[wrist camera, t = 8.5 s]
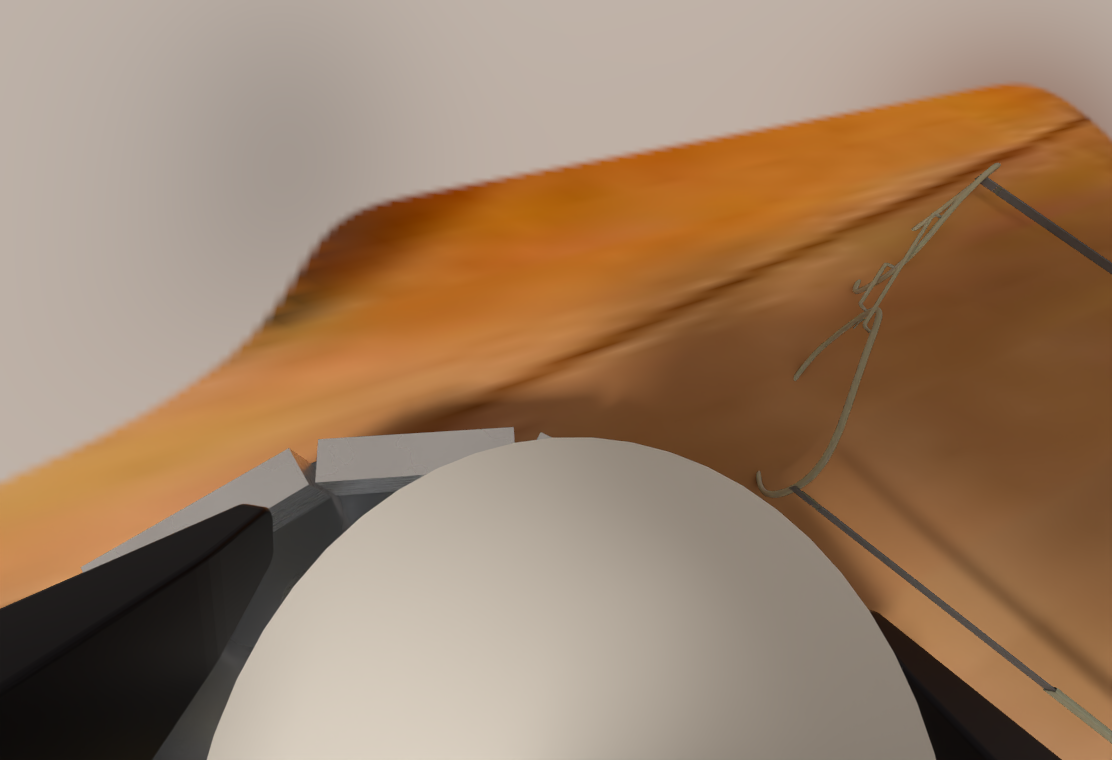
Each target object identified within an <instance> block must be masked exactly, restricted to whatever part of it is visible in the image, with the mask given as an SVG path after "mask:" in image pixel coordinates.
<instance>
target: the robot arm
mask: <svg viewBox="0 0 1112 760" xmlns="http://www.w3.org/2000/svg"><path fill="white" fill-rule="evenodd" d="M273 552H274V543H273V519H272V513H271V510H270V509H268V508H267V507H262V506H257V505H251V504H240V505H237V506H235V507H232V508H230V509H228V510H226V511H223V512H221V513H219V514H216V515H214V516H212V517H210V518H207V519H205V520H203V521H200V522H198V523H196V524H193V525H191V526H189V527H187V528H184V529H182V530H180V531H177V532H175V533H173V534H171V535H168V536H166V537H164V538H161V539H159V540H157V541H154V542H152V543H150V544H148V545H145V546H143V547H141V548H138V549H136V550H134V551H132V552H129V553H127V554H125V555H122V556H120V557H118V558H116V559H113V560H111V561H109V562H106V563H104V564H102V565H99V566H97V567H95V568H93V569H90V570H88V571H86V572H83V573H81V574H79V575H77V576H74V577H72V578H70V579H67V580H65V581H63V582H60V583H58V584H56V585H54V586H51V587H49V588H47V589H44V590H42V591H40V592H37V593H35V594H33V595H31V596H28V597H26V598H24V599H21V600H19V601H17V602H15V603H12V604H10V605H8V606H5V607H3V608H1V609H0V760H153V758H154V757H155V755H156V754H157V752H158V751H159V749H160V748H161V746H162V745H163V743H164V742H165V740H166V739H167V737H168V736H169V734H170V733H171V731H172V730H173V728H174V727H175V725H176V724H177V722H178V721H179V719H180V718H181V716H182V715H183V713H184V712H185V710H186V709H187V707H188V706H189V704H190V703H191V701H192V700H193V698H194V697H195V695H196V694H197V692H198V691H199V689H200V688H201V686H202V685H203V684H204V682H205V681H206V679H207V678H208V676H209V674H210V673H211V671H212V670H213V668H214V667H215V665H216V664H217V662H218V660H219V659H220V657H221V655H222V653H223V652H224V650H225V648H226V646H227V645H228V643H229V641H230V639H231V637H232V635H233V633H234V632H235V630H236V628H237V626H238V624H239V622H240V620H241V618H242V617H243V615H244V613H245V611H246V609H247V607H248V605H249V603H250V602H251V600H252V598H253V596H254V594H255V592H256V590H257V589H258V587H259V585H260V583H261V581H262V579H263V577H264V575H265V574H266V572H267V570H268V568H269V566H270V564H271V561H272V557H273ZM869 611H870V613H871V615H872V616H873V618H874V620H875V621H876V623H877V625H878V626H879V628H880V630H881V632H882V633H883V635H884V637H885V638H886V640H887V642H888V643H889V645H890V647H891V649H892V650H893V652H894V654H895V656H896V658H897V660H898V662H899V664H900V667H901V669H902V671H903V673H904V675H905V677H906V680H907V682H908V684H909V686H910V688H911V691H912V693H913V695H914V697H915V699H916V701H917V704H918V707H919V710H920V713H921V716H922V719H923V722H924V724H925V727H926V730H927V733H928V736H929V739H930V742H931V745H932V748H933V751H934V753H935V758H936V760H1061V759H1060V758H1059V757H1058V756H1056V755H1055V754H1054V753H1053V752H1051V751H1050V750H1049V749H1048V748H1046V747H1045V746H1044V745H1043V744H1041V743H1040V742H1039V741H1038V740H1036V739H1035V738H1034V737H1033V736H1031V735H1030V734H1029V733H1028V732H1026V731H1025V730H1024V729H1023V728H1022V727H1020V726H1019V725H1018V724H1017V723H1015V722H1014V721H1013V720H1012V719H1010V718H1009V717H1008V716H1007V715H1005V714H1004V713H1003V712H1002V711H1000V710H999V709H998V708H997V707H995V706H994V705H993V704H992V703H990V702H989V701H988V700H987V699H985V698H984V697H983V696H982V695H980V694H979V693H978V692H977V691H975V690H974V689H973V688H972V687H970V686H969V685H968V684H967V683H965V682H964V681H963V680H962V679H960V678H959V677H958V676H957V675H955V674H954V673H953V672H952V671H950V670H949V669H948V668H947V667H945V666H944V665H943V664H942V663H940V662H939V661H938V660H937V659H935V658H934V657H933V656H932V655H930V654H929V653H928V652H927V651H925V650H924V649H923V648H922V647H920V646H919V645H918V644H917V643H915V642H914V641H913V640H912V639H910V638H909V637H908V636H907V635H905V634H904V633H903V632H902V631H900V630H899V629H898V628H897V627H895V626H894V625H893V624H892V623H890V622H889V621H888V620H887V619H886V618H884V617H883V616H882V615H880V614H879V613H877V612H875V611H872V610H869Z"/></svg>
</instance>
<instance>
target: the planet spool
mask: <svg viewBox="0 0 1112 760" xmlns="http://www.w3.org/2000/svg"><path fill="white" fill-rule="evenodd" d="M207 760H936V758H935V753H934V751H933V748H932V745H931V742H930V739H929V736H928V733H927V730H926V727H925V724H924V722H923V719H922V716H921V713H920V710H919V707H918V704H917V701H916V699H915V697H914V695H913V693H912V691H911V688H910V686H909V684H908V682H907V680H906V677H905V675H904V673H903V671H902V669H901V667H900V664H899V662H898V660H897V658H896V656H895V654H894V652H893V650H892V649H891V647H890V645H889V643H888V642H887V640H886V638H885V637H884V635H883V633H882V632H881V630H880V628H879V626H878V625H877V623H876V621H875V620H874V618H873V616H872V615H871V613H870V611H869V610H868V608H867V607H866V606H865V604H864V603H863V602H862V600H861V599H860V597H859V596H858V595H857V593H856V592H855V591H854V589H853V588H852V587H851V585H850V584H849V583H848V581H847V580H846V578H845V577H844V576H843V574H842V573H841V572H840V571H839V570H838V569H837V567H836V566H835V565H834V564H833V563H832V562H831V561H830V560H829V559H828V558H827V557H826V555H825V554H824V553H823V552H822V551H821V550H820V549H819V548H818V547H817V546H816V544H815V543H814V542H813V541H812V540H811V539H810V538H809V537H808V536H807V535H805V534H804V533H803V532H802V531H801V530H800V529H799V528H797V527H796V526H795V525H794V524H793V523H792V522H791V521H790V520H788V519H787V518H786V517H785V516H784V515H783V514H782V513H780V512H779V511H778V510H777V509H775V508H774V507H773V506H771V505H770V504H768V503H767V502H765V501H764V500H763V499H761V498H760V497H758V496H757V495H755V494H754V493H753V492H751V491H750V490H748V489H747V488H745V487H744V486H742V485H740V484H739V483H737V482H735V481H733V480H731V479H729V478H727V477H726V476H724V475H722V474H720V473H718V472H716V471H714V470H713V469H711V468H709V467H707V466H704V465H702V464H699V463H697V462H694V461H692V460H689V459H686V458H684V457H681V456H679V455H676V454H674V453H671V452H668V451H664V450H660V449H656V448H652V447H648V446H644V445H640V444H636V443H633V442H625V441H617V440H609V439H601V438H593V437H587V438H547V439H540V440H532V441H524V442H517V443H512V444H508V445H504V446H500V447H497V448H493V449H489V450H485V451H481V452H478V453H474V454H472V455H469V456H467V457H464V458H462V459H460V460H457V461H455V462H452V463H450V464H447V465H445V466H442V467H440V468H437V469H435V470H433V471H432V472H430V473H428V474H426V475H424V476H423V477H421V478H419V479H417V480H415V481H414V482H412V483H410V484H408V485H406V486H404V487H403V488H401V489H399V490H398V491H396V492H395V493H393V494H392V495H391V496H389V497H388V498H387V499H385V500H384V501H382V502H381V503H380V504H378V505H377V506H375V507H374V508H373V509H371V510H370V511H368V512H367V513H366V514H364V515H363V516H362V517H361V518H359V519H358V520H357V521H356V522H355V523H354V524H353V525H352V526H351V527H350V528H349V529H347V530H346V531H345V532H344V533H343V534H342V535H341V536H340V537H339V538H338V539H337V540H335V541H334V542H333V543H332V544H331V545H330V546H329V547H328V548H327V549H326V550H325V551H324V552H323V553H322V554H321V556H320V557H319V558H318V559H317V560H316V561H315V563H314V564H313V565H312V566H311V567H310V568H309V569H308V571H307V572H306V573H305V574H304V575H303V576H302V577H301V579H300V580H299V581H298V582H297V583H296V584H295V586H294V587H293V588H292V590H291V591H290V593H289V594H288V595H287V597H286V598H285V600H284V601H283V603H282V604H281V606H280V607H279V608H278V610H277V611H276V613H275V614H274V616H273V617H272V619H271V620H270V621H269V623H268V624H267V626H266V627H265V629H264V630H263V632H262V634H261V636H260V638H259V639H258V641H257V643H256V645H255V647H254V649H253V650H252V652H251V654H250V656H249V658H248V660H247V661H246V663H245V665H244V667H243V669H242V671H241V673H240V674H239V676H238V678H237V680H236V682H235V685H234V687H233V690H232V692H231V695H230V697H229V700H228V702H227V704H226V707H225V709H224V712H223V714H222V717H221V719H220V721H219V724H218V726H217V729H216V731H215V734H214V737H213V740H212V743H211V747H210V750H209V754H208V757H207Z"/></svg>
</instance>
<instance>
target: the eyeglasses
mask: <svg viewBox="0 0 1112 760" xmlns="http://www.w3.org/2000/svg"><path fill="white" fill-rule="evenodd" d="M1000 166H1001V164H1000V163H995V164H994V165H992V166H991V167H989V168H988V169H987V170H986V171H985V172H984V173H982V174H981V175H980V176H978V177H977V178H975V181H974V182H973V183H971V184H970V185H969V186H968V187H966V188H965V189H964V190H962V191H961V192H960V193H958V194H957V195H956V196H955V197H953V198H952V199H951V200H949V201H948V202H947V203H945V204H944V205H943V206H942V207H940V208H939V209H938V210H936V211H935V212H934V213H932V214H931V215H930V216H928V217H927V218H926V219H924V220H923V221H922V222H920V223H919V224H917V225H916V226H915V227H913V228H912V231H916V230H918V229H919V228H920V227H922V226H923V225H924V226H923V228H922V229H921V231H920V233H919V234H918V236H917V237H916V239H915V241H914V242H913V244H912V245H911V247H910V249H909V250H908V252H907V253H906V255H905V257H904V258H903V259H902V260H901V261H900V262H899V263H898V264H897V265H895V266H893V265H892V264H889V263H884V264H883V265H882V267H881V268H880V270H879V271H878V273H877V275H876V276H875V278H874V279H873V281H872V282H871V283H869V284H867V285H865V286H863V287H861V288H859V289H858V287H859V285H860V283H861V280H860V279H859V280H857V281H856V282H855V284H854V286H853V292H854V293H855V294H859V293H862V292H864V291H866V292H865V293H864V295H863V296H862V298H861V300H860V301H859V306H860V308H861V309H862V310H863V311H864V312H863V313H861V314H859V315H858V316H857V317H855V318H854V319H852V320H851V321H850V322H848V323H847V324H846V325H844V326H843V327H842V328H841V329H839V330H838V331H837V332H836V333H834V334H833V335H832V336H831V337H830V338H828V339H827V340H826V341H825V342H823V343H822V344H821V345H820V346H819V347H818V348H817V349H816V350H815V351H814V352H813V353H812V354H811V355H810V356H809V357H808V359H807V360H806V361H805V362H804V363H803V364H802V366H801V367H800V368H799V370H798V371H797V372H796V374H795V376H794V381H796V380H797V379H798V378H799V377H800V375H801V374H802V373H803V372H804V370H805V369H806V368H807V366H808V365H809V364H810V363H811V362H812V361H813V360H814V359H815V357H816V356H817V355H818V354H819V353H820V352H821V351H822V350H823V349H824V348H826V347H827V346H828V345H829V344H830V343H831V342H833V341H834V340H835V339H836V338H838V337H839V336H840V335H842V334H843V333H844V332H845V331H847V330H848V329H849V328H851V327H852V326H853V325H855V324H856V323H857V324H856V325H855V326H854V328H853V329H855V328H856V326H857V325H858V324H859V323H860V322H862V321H864V320H865V321H864V322H863V327H864V329H865V330H866V331H867V332H868V333H870V335H869V337H868V340H867V343H866V345H865V348H864V350H863V353H862V356H861V359H860V362H859V365H858V367H857V370H856V373H855V376H854V379H853V382H852V385H851V388H850V391H849V394H848V396H847V399H846V402H845V405H844V408H843V411H842V414H841V417H840V420H839V422H838V425H837V427H836V430H835V432H834V434H833V437H832V439H831V441H830V443H829V445H828V447H827V449H826V451H825V453H824V454H823V456H822V457H821V459H820V460H819V462H818V463H817V464H816V466H815V467H814V468H813V469H812V470H811V471H810V472H809V473H808V474H807V475H806V476H805V477H804V478H803V479H801V480H800V481H798V482H797V483H795V484H793V485H791V486H789V487H787V488H785V489H781V490H778V491H768V490H766V489H765V488H764V486H763V484H762V479H761V472H760V471H758V472H757V474H756V480H757V485H758V487H759V489H760V491H761V492H762V493H763V494H764V495H765V496H767V497H771V498H778V497H783V496H786V495H789V494H791V493H793V492H794V493H796V494H797V495H798V496H799V497H801V498H802V499H803V500H804V501H806V502H807V503H808V504H810V505H812V507H814V508H815V509H816V510H817V511H818V512H820V513H821V514H822V515H824V516H825V517H826V518H827V519H829V520H830V521H831V522H832V523H834V524H835V525H836V526H838V527H839V528H840V529H841V530H843V531H844V532H845V533H846V534H848V535H849V536H850V537H852V538H853V539H854V540H855V541H857V542H858V543H859V544H860V545H862V546H863V547H864V548H866V549H867V550H868V551H869V552H871V553H872V554H873V555H874V556H876V557H877V558H878V559H880V560H881V561H882V562H883V563H885V564H886V565H887V566H888V567H890V568H891V569H892V570H894V571H895V572H896V573H897V574H899V575H900V576H901V577H903V578H904V579H905V580H906V581H908V582H909V583H910V584H911V585H913V586H914V587H915V588H917V589H918V590H919V591H920V592H922V593H923V594H924V595H925V596H927V597H928V598H929V599H931V600H932V601H933V602H934V603H936V604H937V605H938V606H939V607H941V608H942V609H943V610H945V611H946V612H947V613H948V614H950V615H951V616H952V617H953V618H955V619H956V620H957V621H959V622H960V623H961V624H962V625H964V626H965V627H966V628H967V629H969V630H970V631H971V632H973V633H974V634H975V635H976V636H978V637H979V638H980V639H981V640H983V641H984V642H985V643H987V644H988V645H989V646H990V647H992V648H993V649H994V650H995V651H997V652H998V653H999V654H1001V655H1002V656H1003V657H1004V658H1006V659H1007V660H1008V661H1009V662H1011V663H1012V664H1013V665H1015V666H1016V667H1017V668H1018V669H1020V670H1021V671H1022V672H1023V673H1025V674H1026V675H1027V676H1029V677H1030V678H1031V679H1032V680H1034V681H1035V682H1036V683H1037V684H1039V685H1040V686H1041V687H1043V688H1044V689H1043V690H1044V691H1045V692H1047V693H1048V694H1049V695H1051V696H1052V697H1053V698H1054V699H1056V700H1057V701H1058V702H1059V703H1061V704H1062V705H1063V706H1065V707H1066V708H1067V709H1068V710H1070V711H1071V712H1072V713H1074V714H1075V715H1076V716H1077V717H1079V718H1080V719H1081V720H1082V721H1084V722H1085V723H1086V724H1088V725H1089V726H1090V727H1091V728H1093V729H1094V730H1095V731H1096V732H1098V733H1099V734H1100V735H1102V736H1103V737H1104V738H1105V739H1107V740H1108V741H1109V742H1110V743H1112V731H1111V730H1110V729H1109V728H1107V727H1106V726H1105V725H1104V724H1102V723H1101V722H1100V721H1099V720H1097V719H1096V718H1095V717H1093V716H1092V715H1091V714H1090V713H1088V712H1087V711H1086V710H1085V709H1083V708H1082V707H1081V706H1079V705H1078V704H1077V703H1076V702H1074V701H1073V700H1072V699H1071V698H1069V697H1068V696H1067V695H1065V694H1064V693H1063V692H1062V691H1060V690H1059V689H1058V688H1056V687H1052V686H1051V685H1050V684H1048V683H1047V682H1046V681H1045V680H1043V679H1042V678H1041V677H1039V676H1038V675H1037V674H1036V673H1034V672H1033V671H1032V670H1030V669H1029V668H1028V667H1027V666H1025V665H1024V664H1023V663H1022V662H1020V661H1019V660H1018V659H1016V658H1015V657H1014V656H1013V655H1011V654H1010V653H1009V652H1008V651H1006V650H1005V649H1004V648H1002V647H1001V646H1000V645H999V644H997V643H996V642H995V641H993V640H992V639H991V638H990V637H988V636H987V635H986V634H985V633H983V632H982V631H981V630H979V629H978V628H977V627H976V626H974V625H973V624H972V623H971V622H969V621H968V620H967V619H965V618H964V617H963V616H962V615H960V614H959V613H958V612H956V611H955V610H954V609H953V608H951V607H950V606H949V605H948V604H946V603H945V602H944V601H942V600H941V599H940V598H939V597H937V596H936V595H935V594H934V593H932V592H931V591H930V590H928V589H927V588H926V587H925V586H923V585H922V584H921V583H919V582H918V581H917V580H916V579H914V578H913V577H912V576H911V575H909V574H908V573H907V572H905V571H904V570H903V569H902V568H900V567H899V566H898V565H897V564H895V563H894V562H893V561H891V560H890V559H889V558H888V557H886V556H885V555H884V554H882V553H881V552H880V551H879V550H877V549H876V548H875V547H874V546H872V545H871V544H870V543H868V542H867V541H866V540H865V539H863V538H862V537H861V536H860V535H858V534H857V533H856V532H854V531H853V530H852V529H851V528H849V527H848V526H847V525H845V524H844V523H843V522H842V521H840V520H839V519H838V518H837V517H835V516H834V515H833V514H831V513H830V512H829V511H828V510H826V509H825V508H824V507H822V506H821V505H820V504H818V503H817V502H816V501H815V500H814V499H812V498H811V497H810V496H809V495H807V494H806V493H805V492H803V491H801V490H800V489H801V488H803V487H804V486H805V485H807V484H808V483H810V482H811V481H812V480H813V479H814V478H815V477H816V476H817V475H818V474H819V473H820V472H821V470H822V469H823V468H824V467H825V465H826V464H827V462H828V461H829V459H830V457H831V456H832V454H833V452H834V450H835V448H836V446H837V444H838V441H839V439H840V437H841V435H842V432H843V430H844V427H845V424H846V422H847V419H848V416H849V413H850V410H851V408H852V405H853V402H854V398H855V395H856V392H857V389H858V386H859V383H860V380H861V377H862V375H863V372H864V369H865V366H866V363H867V360H868V357H869V354H870V352H871V349H872V346H873V343H874V341H875V338H876V335H877V333H878V330H879V326H880V323H881V320H882V310H881V308H879V307H878V306H879V304H880V303H881V301H882V299H883V298H884V296H885V294H886V293H887V291H888V290H889V288H890V286H891V285H892V283H893V282H894V280H895V279H896V277H897V275H898V274H899V272H900V270H901V269H902V267H903V266H904V265H905V264H906V263H907V262H908V261H909V260H910V259H911V258H913V257H914V256H915V255H916V254H917V253H918V252H919V251H920V250H921V248H922V247H923V246H924V245H925V244H926V243H927V242H928V241H929V239H930V238H931V237H932V236H933V235H934V234H935V233H936V231H937V230H938V229H939V228H940V227H941V225H942V224H943V223H944V222H945V221H946V219H947V218H948V217H949V216H950V215H951V214H952V212H953V211H954V210H955V209H956V208H957V207H958V206H959V204H960V203H961V202H962V201H963V200H964V199H965V198H966V197H967V196H968V195H969V194H970V193H971V192H972V191H973V190H974V189H975V188H976V187H977V186H978V185H979V184H982V185H983V186H984V187H986V188H987V189H989V190H990V191H993V192H994V193H995V194H996V195H997V196H999V197H1000V198H1002V199H1003V200H1005V201H1006V202H1008V203H1009V204H1011V205H1012V206H1013V207H1015V208H1016V209H1018V210H1019V211H1021V212H1022V213H1024V214H1025V215H1026V216H1028V217H1029V218H1031V219H1032V220H1034V221H1035V222H1037V223H1038V224H1039V225H1041V226H1042V227H1044V228H1045V229H1047V230H1048V231H1050V232H1051V233H1052V234H1054V235H1055V236H1057V237H1058V238H1060V239H1061V240H1063V241H1064V242H1066V243H1067V244H1068V245H1070V246H1071V247H1073V248H1074V249H1076V250H1077V251H1079V252H1080V253H1081V254H1083V255H1084V256H1086V257H1087V258H1089V259H1090V260H1092V261H1093V262H1094V263H1096V264H1097V265H1099V266H1100V267H1102V268H1103V269H1105V270H1106V271H1108V272H1109V273H1110V274H1112V263H1111V262H1110V261H1108V260H1107V259H1105V258H1104V257H1103V256H1101V255H1100V254H1098V253H1097V252H1095V251H1094V250H1092V249H1091V248H1089V247H1088V246H1087V245H1085V244H1084V243H1082V242H1081V241H1079V240H1078V239H1076V238H1075V237H1073V236H1072V235H1071V234H1069V233H1068V232H1066V231H1065V230H1063V229H1062V228H1060V227H1059V226H1057V225H1056V224H1055V223H1053V222H1052V221H1050V220H1049V219H1047V218H1046V217H1044V216H1043V215H1041V214H1040V213H1039V212H1037V211H1036V210H1034V209H1033V208H1031V207H1030V206H1028V205H1027V204H1025V203H1024V202H1023V201H1021V200H1020V199H1018V198H1017V197H1015V196H1014V195H1012V194H1011V193H1009V192H1008V191H1007V190H1005V189H1003V188H1002V187H1001V186H999V185H998V184H996V183H995V182H994V181H992V180H991V179H989V178H988V176H989V175H991V174H992V173H993V172H994V171H996V170H997V169H998V168H999V167H1000ZM994 189H995V190H994ZM951 204H952V205H951ZM950 205H951V206H950ZM949 206H950V207H949ZM947 207H949V208H948V210H947V211H946V212H945V213H944V214H943V215H942V216H941V215H940V214H939V213H941V212H942V211H943V210H945V209H946V208H947ZM935 216H937V217H938V218H940V219H939V220H938V221H937V222H936V224H935V225H934V226H933V227H932V228H931V230H930V231H929V232H928V233H927V234H926V235H925V237H924V238H923V239H922V240H921V241H920V242H919V243H918V241H919V240H920V238H921V237H922V235H923V233H924V232H925V230H926V229H927V227H928V225H929V224H930V222H931V220H932V219H933V218H934V217H935ZM917 243H918V244H917ZM916 245H917V246H916ZM915 246H916V247H915ZM886 266H888V267H890V268H892V269H890V270H889V271H888V272H886V273H885V274H884V275H882V276H881V274H882V273H883V271H884V269H885V268H886ZM891 275H893V276H892V277H891V279H890V281H889V282H888V284H887V285H886V287H885V289H884V290H883V292H882V293H881V295H880V297H879V298H878V300H877V301H876V303H875V305H874V306H873V308H870V309H868V310H867V309H866V308H865V307H864V306H863V302H864V301H865V299H866V298H867V296H868V295H869V293H870V291H871V290H872V288H873V287H874V286H875V285H877V284H879V283H881V282H882V281H884V280H885V279H887V278H888V277H890V276H891ZM874 313H876V316H875V320H874V323H873V326H872V329H871V330H870V329H869V328H868V327H867V323H868V322H869V321H870V319H871V317H872V315H873V314H874ZM865 317H866V319H864V318H865Z"/></svg>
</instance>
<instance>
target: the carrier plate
mask: <svg viewBox="0 0 1112 760" xmlns="http://www.w3.org/2000/svg"><path fill="white" fill-rule="evenodd" d="M547 438H552V437H550V436H548V435H546V434H544V433H541V432H540V434H539V436H538V438H537V440H540V439H547ZM512 443H515V440H514V427H507V428H491V429H475V430H459V431H443V432H427V433H411V434H395V435H379V436H364V437H348V438H332V439H318V450H317V461H316V462H314V463H310V462H308V461H307V460H305V459H304V458H302V457H301V456H299V455H298V454H297V453H295V452H294V451H292V450H291V449H289V448H288V449H287V450H285V451H283V452H281V453H280V454H278V455H276V456H274V457H273V458H271V459H269V460H267V461H266V462H264V463H262V464H260V465H259V466H257V467H255V468H253V469H252V470H250V471H248V472H247V473H245V474H243V475H241V476H240V477H238V478H236V479H234V480H233V481H231V482H229V483H227V484H226V485H224V486H222V487H220V488H219V489H217V490H215V491H213V492H212V493H210V494H208V495H206V496H205V497H203V498H201V499H199V500H198V501H196V502H194V503H192V504H191V505H189V506H187V507H185V508H184V509H182V510H180V511H178V512H177V513H175V514H173V515H171V516H170V517H168V518H166V519H164V520H163V521H161V522H159V523H158V524H156V525H154V526H152V527H151V528H149V529H147V530H145V531H144V532H142V533H140V534H138V535H137V536H135V537H133V538H131V539H130V540H128V541H126V542H124V543H123V544H121V545H119V546H117V547H116V548H114V549H112V550H110V551H109V552H107V553H105V554H103V555H102V556H100V557H98V558H96V559H95V560H93V561H91V562H89V563H88V564H86V565H84V566H82V567H81V569H82V571H83V572H86V571H88V570H90V569H93V568H95V567H97V566H99V565H102V564H104V563H106V562H109V561H111V560H113V559H116V558H118V557H120V556H122V555H125V554H127V553H129V552H132V551H134V550H136V549H138V548H141V547H143V546H145V545H148V544H150V543H152V542H154V541H157V540H159V539H161V538H164V537H166V536H168V535H171V534H173V533H175V532H177V531H180V530H182V529H184V528H187V527H189V526H191V525H193V524H196V523H198V522H200V521H203V520H205V519H207V518H210V517H212V516H214V515H216V514H219V513H221V512H223V511H226V510H228V509H230V508H232V507H235V506H237V505H240V504H251V505H257V506H262V507H267V508H268V509H270V510H271V513H272V519H273V543H274V552H273V557H272V561H271V564H270V566H269V568H268V570H267V572H266V574H265V575H264V577H263V579H262V581H261V583H260V585H259V587H258V589H257V590H256V592H255V594H254V596H253V598H252V600H251V602H250V603H249V605H248V607H247V609H246V611H245V613H244V615H243V617H242V618H241V620H240V622H239V624H238V626H237V628H236V630H235V632H234V633H233V635H232V637H231V639H230V641H229V643H228V645H227V646H226V648H225V650H224V652H223V653H222V655H221V657H220V659H219V660H218V662H217V664H216V665H215V667H214V668H213V670H212V671H211V673H210V674H209V676H208V678H207V679H206V681H205V682H204V684H203V685H202V686H201V688H200V689H199V691H198V692H197V694H196V695H195V697H194V698H193V700H192V701H191V703H190V704H189V706H188V707H187V709H186V710H185V712H184V713H183V715H182V716H181V718H180V719H179V721H178V722H177V724H176V725H175V727H174V728H173V730H172V731H171V733H170V734H169V736H168V737H167V739H166V740H165V742H164V743H163V745H162V746H161V748H160V749H159V751H158V752H157V754H156V755H155V757H154V758H153V760H207V757H208V754H209V750H210V747H211V743H212V740H213V737H214V734H215V731H216V729H217V726H218V724H219V721H220V719H221V717H222V714H223V712H224V709H225V707H226V704H227V702H228V700H229V697H230V695H231V692H232V690H233V687H234V685H235V682H236V680H237V678H238V676H239V674H240V673H241V671H242V669H243V667H244V665H245V663H246V661H247V660H248V658H249V656H250V654H251V652H252V650H253V649H254V647H255V645H256V643H257V641H258V639H259V638H260V636H261V634H262V632H263V630H264V629H265V627H266V626H267V624H268V623H269V621H270V620H271V619H272V617H273V616H274V614H275V613H276V611H277V610H278V608H279V607H280V606H281V604H282V603H283V601H284V600H285V598H286V597H287V595H288V594H289V593H290V591H291V590H292V588H293V587H294V586H295V584H296V583H297V582H298V581H299V580H300V579H301V577H302V576H303V575H304V574H305V573H306V572H307V571H308V569H309V568H310V567H311V566H312V565H313V564H314V563H315V561H316V560H317V559H318V558H319V557H320V556H321V554H322V553H323V552H324V551H325V550H326V549H327V548H328V547H329V546H330V545H331V544H332V543H333V542H334V541H335V540H337V539H338V538H339V537H340V536H341V535H342V534H343V533H344V532H345V531H346V530H347V529H349V528H350V527H351V526H352V525H353V524H354V523H355V522H356V521H357V520H358V519H359V518H361V517H362V516H363V515H364V514H366V513H367V512H368V511H370V510H371V509H373V508H374V507H375V506H377V505H378V504H380V503H381V502H382V501H384V500H385V499H387V498H388V497H389V496H391V495H392V494H393V493H395V492H396V491H398V490H399V489H401V488H403V487H404V486H406V485H408V484H410V483H412V482H414V481H415V480H417V479H419V478H421V477H423V476H424V475H426V474H428V473H430V472H432V471H433V470H435V469H437V468H440V467H442V466H445V465H447V464H450V463H452V462H455V461H457V460H460V459H462V458H464V457H467V456H469V455H472V454H474V453H478V452H481V451H485V450H489V449H493V448H497V447H500V446H504V445H508V444H512Z"/></svg>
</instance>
